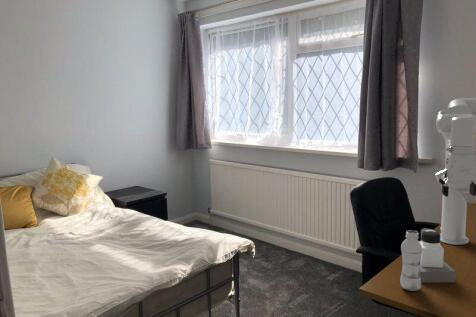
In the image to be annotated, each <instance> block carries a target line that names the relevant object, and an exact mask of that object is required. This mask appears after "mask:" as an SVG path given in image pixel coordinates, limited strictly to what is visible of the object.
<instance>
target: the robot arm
mask: <svg viewBox="0 0 476 317" xmlns="http://www.w3.org/2000/svg"><path fill="white" fill-rule="evenodd" d="M435 127H436V131H437V132H438V133H439V134H442V137H443V139H444V142H445V150H444V152H445V157H444V161H445V165H444V169H443V170H440V171H439V172H436V173H435V178H436V179H437V181H438V183H440V185H441V194H442V198H441V199H442V201H441V220H440V228H439V229H440V233H439V234H440V243H441V242H442V243H445V244H448V245H456V246H458V245H461V246H462V245H463V246H464V245H467V244H468V243H469V242H470V239H469V238H468V237H467V236H466V228H467V227H466V224H467V207H468V203H467V200H466V199H465V197H464V196H463V195H462V194H469V195H471V196H473V197H475V196H476V149H474V148H475V147H474V144H475V133H476V97H470V98H469V97H467V98H465V97H464V98H462V97H461V98H456V99H453V100H451V101H450V102H449V103H448V105H447V108H444V109H441V110H440V111H439V112H438V113H437V116H436V120H435Z"/></svg>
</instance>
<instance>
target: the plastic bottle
mask: <svg viewBox="0 0 476 317" xmlns="http://www.w3.org/2000/svg"><path fill="white" fill-rule="evenodd" d="M405 237H406V238H405V239H404V240H403V241H402V243H401V245H400V251H401V257H402V258H401V259H402V267H401V274H400V278H399V281H400V285H401V287H402V288H403V289H404V290H406V291H408V292H409V291H410V292H418V291H419V290H420V289H421V287H422V283H423V282H421V277H420V260H421V254H422V246H421V244H420V242H419V240H418V239H419V232H418V231H417V230H411V229H410V230H406V232H405Z"/></svg>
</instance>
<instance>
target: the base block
mask: <svg viewBox="0 0 476 317" xmlns="http://www.w3.org/2000/svg"><path fill="white" fill-rule="evenodd" d="M456 274H457V273H456V270H455V269H453V267H452V266H450V265H449V264H448V263H447V262H445V261H444V262H443V268H435V267H422V266H421V264H420V277H421V283H456Z"/></svg>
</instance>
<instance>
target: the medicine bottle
mask: <svg viewBox="0 0 476 317" xmlns="http://www.w3.org/2000/svg"><path fill="white" fill-rule="evenodd" d="M420 240H421V241H419V240H418V241H419V242H420V244H421V246H422V254H421V260H420V264H421V266H422V267H435V268H443V262H445V261H444V260H445V259H444V257H445V248H443V246H442V245H441V241H440V233H439V232H438V231H436V230H431V229H429V230H428V229H427V230H423V231H421V238H420Z"/></svg>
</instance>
